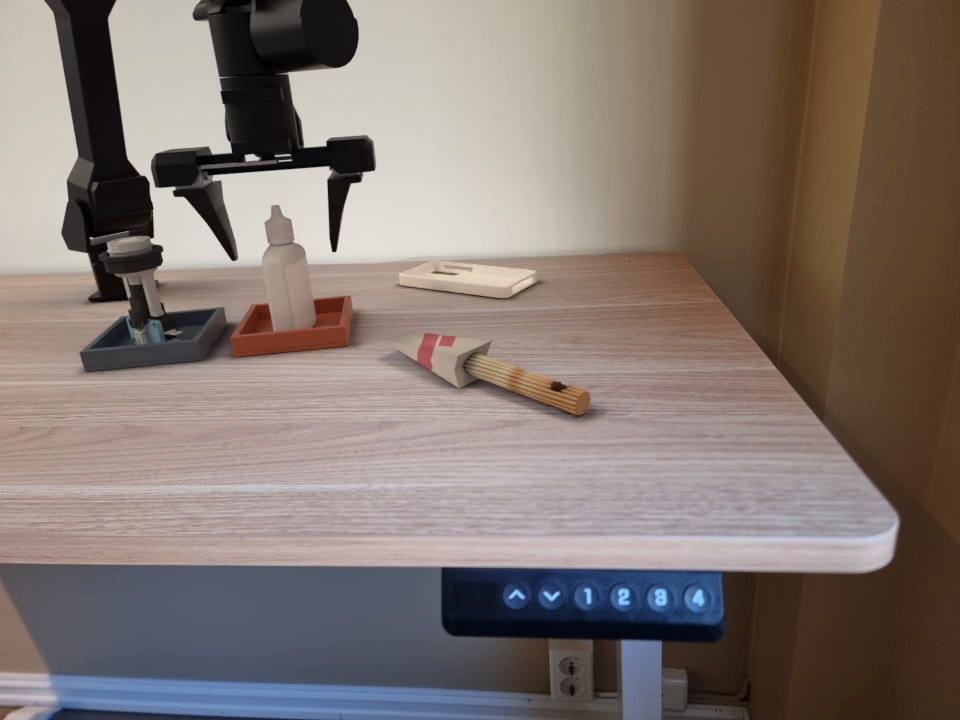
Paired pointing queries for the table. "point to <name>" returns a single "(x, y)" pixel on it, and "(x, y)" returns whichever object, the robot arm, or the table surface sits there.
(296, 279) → the eye dropper bottle
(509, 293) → the phone case
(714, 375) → the table surface
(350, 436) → the table surface
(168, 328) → the push button
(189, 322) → the slate tray
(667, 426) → the table surface
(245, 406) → the table surface
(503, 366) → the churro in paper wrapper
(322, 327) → the terracotta tray
